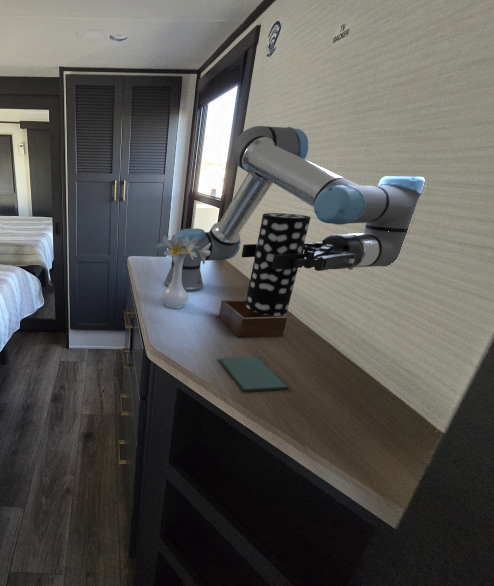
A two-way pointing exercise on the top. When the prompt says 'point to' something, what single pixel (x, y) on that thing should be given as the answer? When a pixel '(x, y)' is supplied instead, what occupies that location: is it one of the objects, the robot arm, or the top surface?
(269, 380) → the mat
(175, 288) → the flower vase
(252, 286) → the white-spotted black cylinder
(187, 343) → the top surface
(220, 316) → the crate
